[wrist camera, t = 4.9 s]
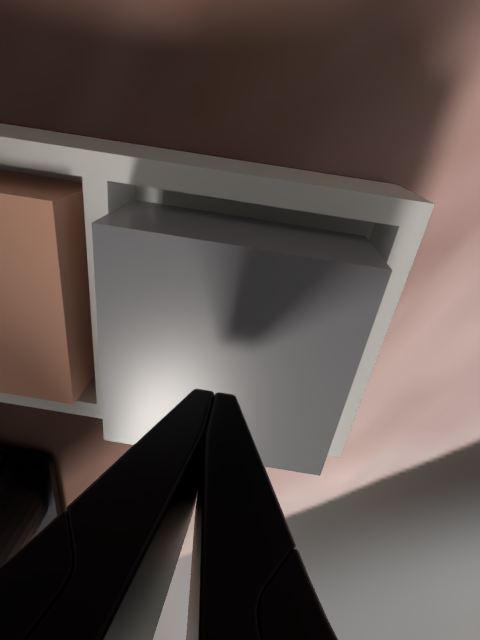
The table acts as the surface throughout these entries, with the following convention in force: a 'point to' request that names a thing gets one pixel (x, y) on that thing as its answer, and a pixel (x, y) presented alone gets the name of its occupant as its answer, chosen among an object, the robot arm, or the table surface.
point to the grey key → (232, 322)
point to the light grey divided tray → (227, 198)
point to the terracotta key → (44, 289)
